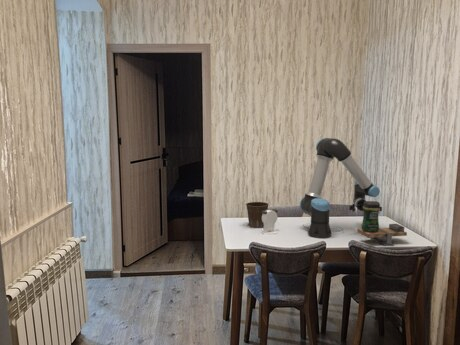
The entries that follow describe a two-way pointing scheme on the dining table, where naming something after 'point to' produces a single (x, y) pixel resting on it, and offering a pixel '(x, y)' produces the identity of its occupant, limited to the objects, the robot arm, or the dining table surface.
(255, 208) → the plant pot
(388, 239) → the beam stand
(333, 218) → the dining table surface
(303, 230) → the dining table surface
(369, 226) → the coffee jar
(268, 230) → the white sculpture
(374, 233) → the seesaw beam
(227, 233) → the dining table surface
